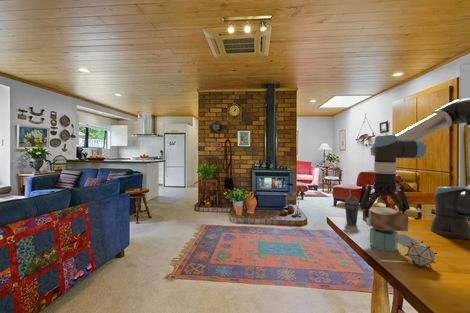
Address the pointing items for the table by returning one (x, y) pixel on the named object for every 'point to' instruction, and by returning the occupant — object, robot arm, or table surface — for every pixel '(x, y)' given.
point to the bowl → (384, 239)
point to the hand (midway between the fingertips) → (383, 225)
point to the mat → (406, 240)
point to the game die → (421, 254)
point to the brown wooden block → (387, 219)
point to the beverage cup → (351, 209)
